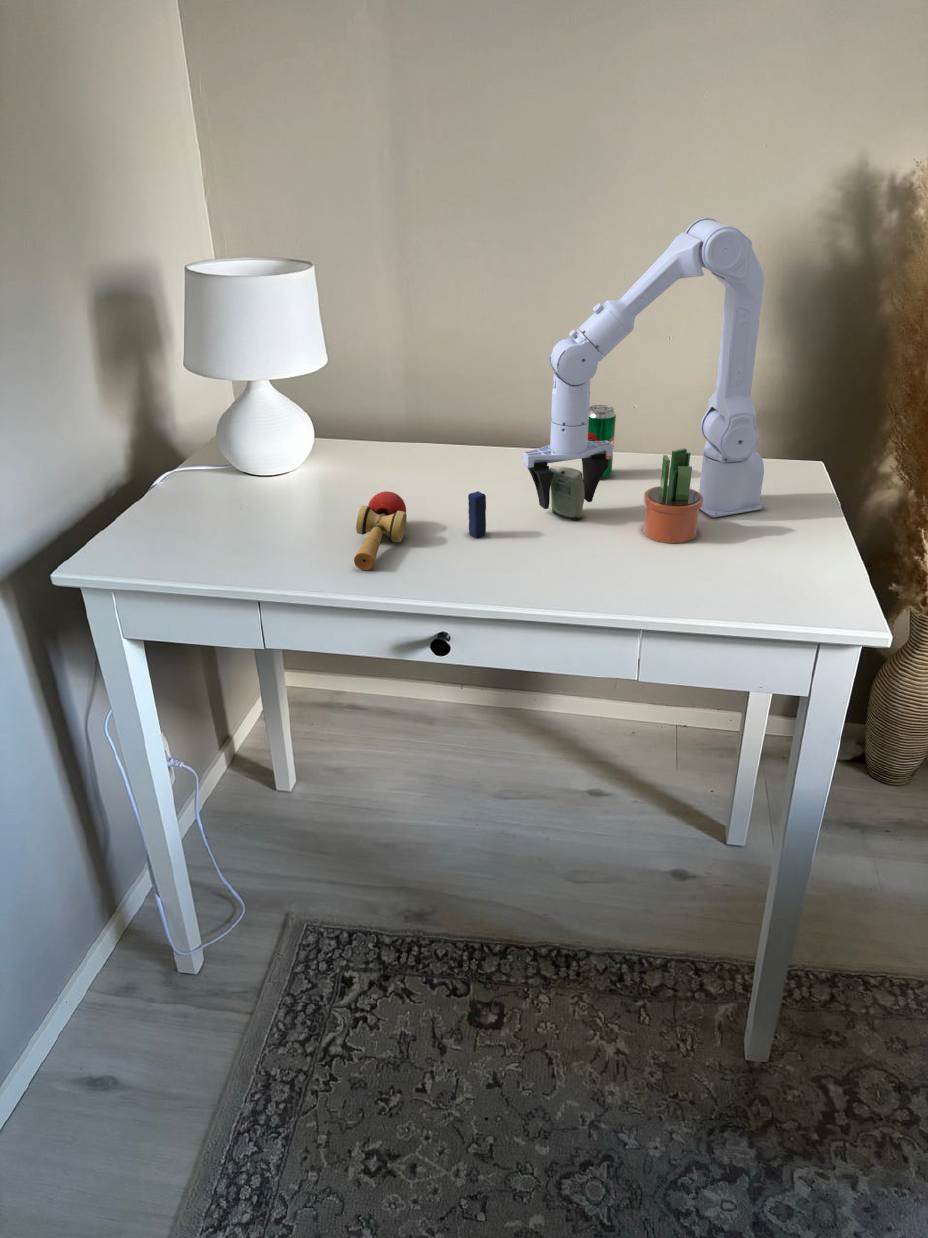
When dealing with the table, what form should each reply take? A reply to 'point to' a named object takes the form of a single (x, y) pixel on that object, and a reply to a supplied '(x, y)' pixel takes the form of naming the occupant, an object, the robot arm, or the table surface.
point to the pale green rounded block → (567, 492)
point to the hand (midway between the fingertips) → (565, 503)
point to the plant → (673, 502)
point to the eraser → (477, 514)
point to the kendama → (379, 525)
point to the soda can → (602, 428)
